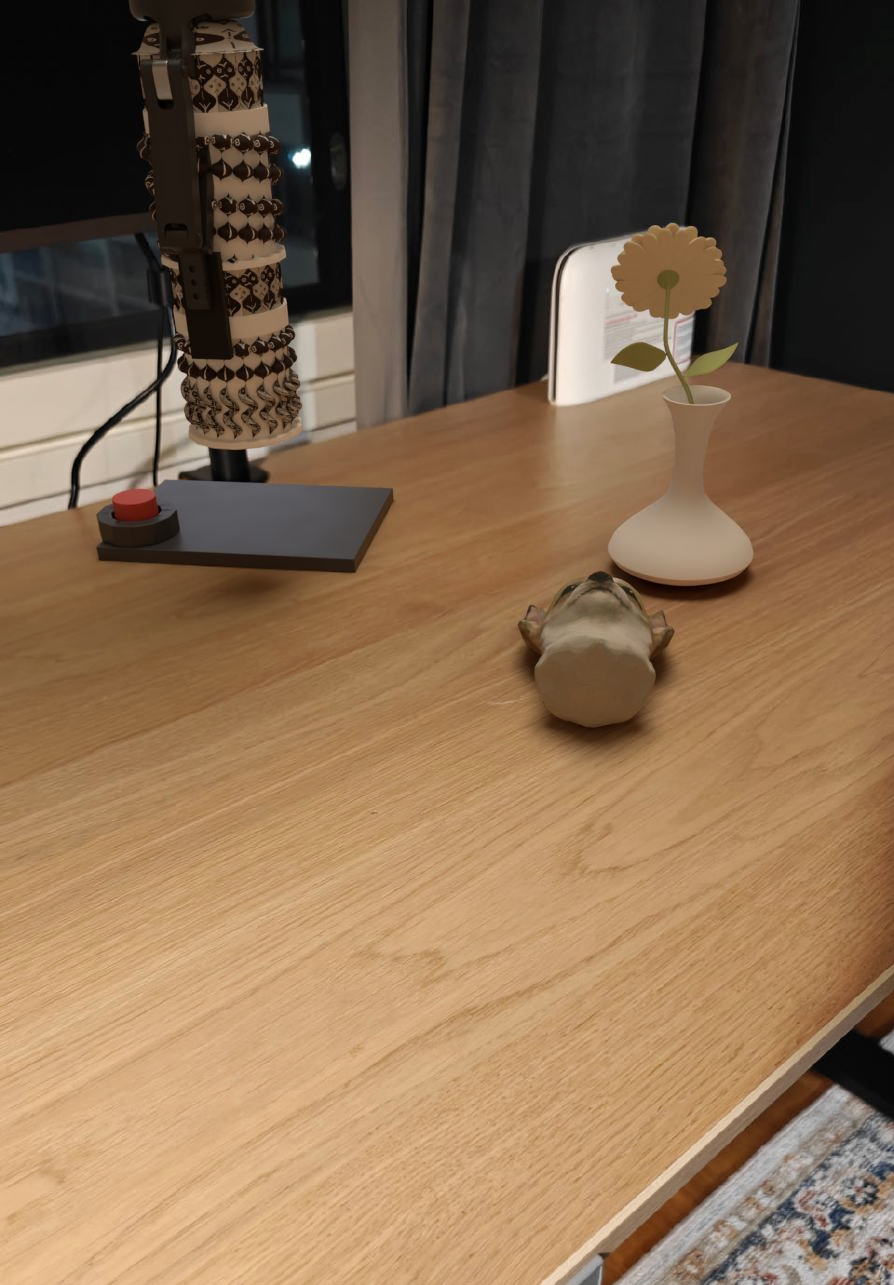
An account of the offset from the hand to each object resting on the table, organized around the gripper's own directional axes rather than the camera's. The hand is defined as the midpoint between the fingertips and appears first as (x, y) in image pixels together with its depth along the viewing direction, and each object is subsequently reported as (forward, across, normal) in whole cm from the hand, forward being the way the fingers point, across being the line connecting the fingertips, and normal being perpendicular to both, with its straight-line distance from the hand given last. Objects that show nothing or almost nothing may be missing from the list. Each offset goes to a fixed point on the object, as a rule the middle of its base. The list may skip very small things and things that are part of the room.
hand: (234, 340), depth 80 cm
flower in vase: (+19, +7, -32) cm, 38 cm away
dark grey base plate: (+18, +10, +4) cm, 22 cm away
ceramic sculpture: (+19, -13, -27) cm, 35 cm away
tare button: (+16, +6, +13) cm, 21 cm away
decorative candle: (+7, 0, 0) cm, 7 cm away
